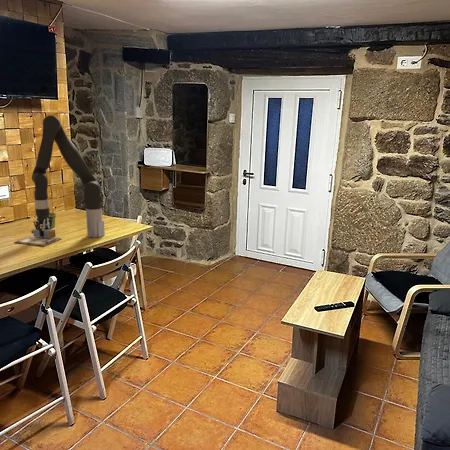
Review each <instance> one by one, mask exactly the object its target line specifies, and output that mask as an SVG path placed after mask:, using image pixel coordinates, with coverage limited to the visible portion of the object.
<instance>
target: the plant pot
mask: <svg viewBox="0 0 450 450" xmlns="http://www.w3.org/2000/svg"><path fill="white" fill-rule="evenodd" d="M49 217H53V220H52V226H51V227H50V228H49V229H54V228H55V227H56V217H57V213H55V212H50V214H49ZM49 225H50V222H49Z"/></svg>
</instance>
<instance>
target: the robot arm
mask: <svg viewBox="0 0 450 450" xmlns="http://www.w3.org/2000/svg"><path fill="white" fill-rule="evenodd" d="M40 142H41V143H40V145H39V149H38V153H37V158H36V162H35V166H34V169H33V170H32V175H31V180H32V182H33V183H34V192H33V195H34V209H35V216H36V217H37V218H36V220H34V221H33V226H34V229H36V230H39V234H40V237H44V232H43V229H49V230H50V229H51V228H50V227H51V226H52V220H53V217H49V214H50V213H51V212H50V202H49V195H48V187H49V186H48V185H49V183H48V182H49V181H48V177H47V174H46V173H47V171H48V169H49V168H50V165H51V161H52V155H53V149H54V148H53V147H54V143H55V144H56V145H57V148H58V150H59V152H60V154H61V155H62V158H63V159H64V161H65V162H66V164H67V166H68V167H69V168H70V169H71V170H72V171H73V172H74V173H75V175H77V177H78V178H79V179H80V181H81V183H82V185H83V186H84V187H83V199H84V205H85V216H86V217H85V219H86V234H87V237H88V238H91V239H92V238H94V239H95V238H101V237H103V236H105V234H106V232H105V220H104V219H103V207H102V206H103V205H102V200H101V191H102V187H101V184H100V183H99V181H98V180H97V179H96V177H95V176H94V175H93V174H92V172H91V171H90V169H89V167H88V165H87V163H86V161H85V160H84V157H83V156H82V154H81V152H80V151H79V149H78V148H77V146H76V145H75V144H74V143H73V142H72V140H71V139H70V138H69V137H68V135H67V133H66V131H65V130H64V127H63V126H62V124H61V121H60V119H59V118H58V117H57V116H55V115H48V116H45V117H44V118H43V120H42V137H41V141H40ZM49 222H50V225H49Z"/></svg>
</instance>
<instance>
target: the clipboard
mask: <svg viewBox="0 0 450 450" xmlns="http://www.w3.org/2000/svg"><path fill="white" fill-rule="evenodd" d="M61 240H62V238H60V237H54V238H42V237H34V234H33V235H29V236H27V237H24V238H21V239H18V240H16V241H14V244H19V245H21V244H22V245H26V246H27V245H28V246H34V247H47V246H49V245H51V244H53V243H56V242H59V241H61Z"/></svg>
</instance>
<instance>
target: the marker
mask: <svg viewBox="0 0 450 450" xmlns="http://www.w3.org/2000/svg"><path fill="white" fill-rule="evenodd" d="M43 232H44V237H42V238H57V236H56V229H50V228H49V229H45V228H43ZM31 234H33V235H34V237H40V234H39V230H36V228H34V229H33V230H31Z"/></svg>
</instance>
